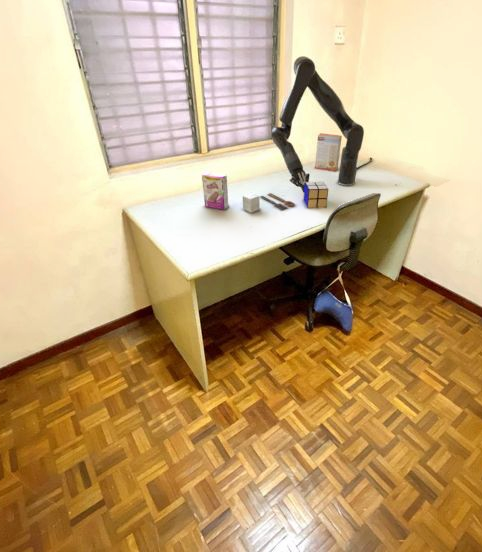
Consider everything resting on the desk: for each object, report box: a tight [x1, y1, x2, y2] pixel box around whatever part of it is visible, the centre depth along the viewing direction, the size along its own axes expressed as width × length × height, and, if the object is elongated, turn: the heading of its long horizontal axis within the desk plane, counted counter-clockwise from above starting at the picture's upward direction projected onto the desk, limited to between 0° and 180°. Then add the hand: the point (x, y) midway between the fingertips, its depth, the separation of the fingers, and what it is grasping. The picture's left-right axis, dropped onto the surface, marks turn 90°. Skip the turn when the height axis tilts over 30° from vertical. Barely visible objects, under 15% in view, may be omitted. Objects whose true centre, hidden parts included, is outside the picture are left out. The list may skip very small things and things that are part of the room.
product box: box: [242, 192, 261, 214], centre depth 163 cm, size 6×6×7 cm
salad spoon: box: [267, 193, 295, 208], centre depth 175 cm, size 4×19×1 cm, turn 39°
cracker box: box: [314, 133, 343, 172], centre depth 211 cm, size 14×6×21 cm, turn 66°
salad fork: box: [260, 195, 288, 211], centre depth 172 cm, size 4×19×1 cm, turn 39°
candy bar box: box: [201, 171, 229, 211], centre depth 162 cm, size 11×5×16 cm, turn 71°
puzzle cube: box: [303, 181, 329, 209], centre depth 170 cm, size 10×10×10 cm
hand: (306, 192), depth 174 cm, fingers closed
